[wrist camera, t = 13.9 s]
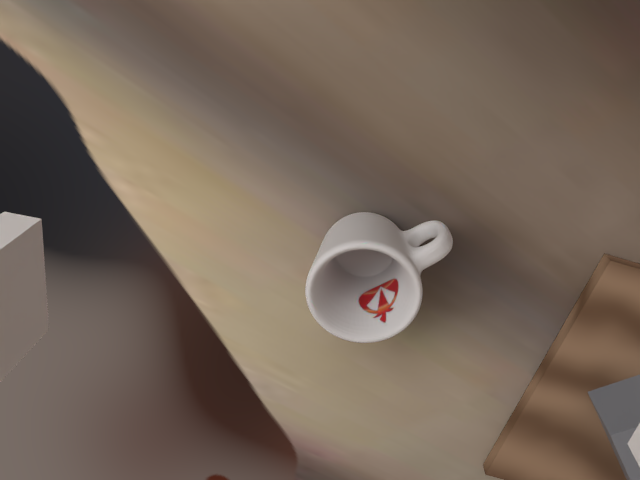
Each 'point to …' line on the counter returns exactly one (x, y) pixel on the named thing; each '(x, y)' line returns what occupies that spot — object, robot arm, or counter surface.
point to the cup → (372, 275)
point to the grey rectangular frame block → (620, 419)
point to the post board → (576, 386)
